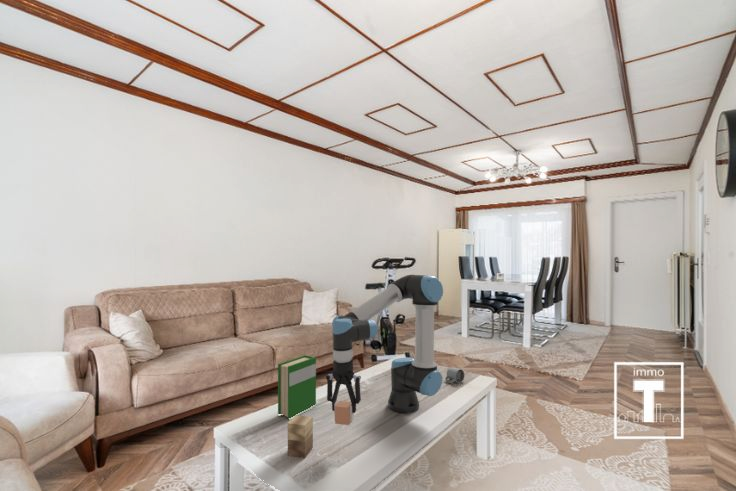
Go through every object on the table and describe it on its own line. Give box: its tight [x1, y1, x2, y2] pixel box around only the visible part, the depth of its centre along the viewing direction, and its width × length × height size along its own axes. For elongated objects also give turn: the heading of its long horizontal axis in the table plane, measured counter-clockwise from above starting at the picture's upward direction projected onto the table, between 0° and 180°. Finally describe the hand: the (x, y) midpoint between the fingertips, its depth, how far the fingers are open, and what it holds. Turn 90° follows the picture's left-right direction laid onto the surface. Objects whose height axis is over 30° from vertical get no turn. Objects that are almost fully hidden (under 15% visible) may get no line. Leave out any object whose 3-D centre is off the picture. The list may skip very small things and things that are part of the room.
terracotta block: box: [334, 400, 352, 426], centre depth 139 cm, size 6×6×6 cm
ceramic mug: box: [445, 366, 465, 384], centre depth 211 cm, size 11×8×8 cm
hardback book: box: [277, 354, 317, 419], centre depth 172 cm, size 18×7×24 cm, turn 146°
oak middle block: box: [287, 415, 314, 442], centre depth 137 cm, size 7×7×6 cm
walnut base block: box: [287, 432, 314, 459], centre depth 136 cm, size 7×7×6 cm
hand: (344, 419), depth 139 cm, fingers closed on terracotta block, 5 cm apart
